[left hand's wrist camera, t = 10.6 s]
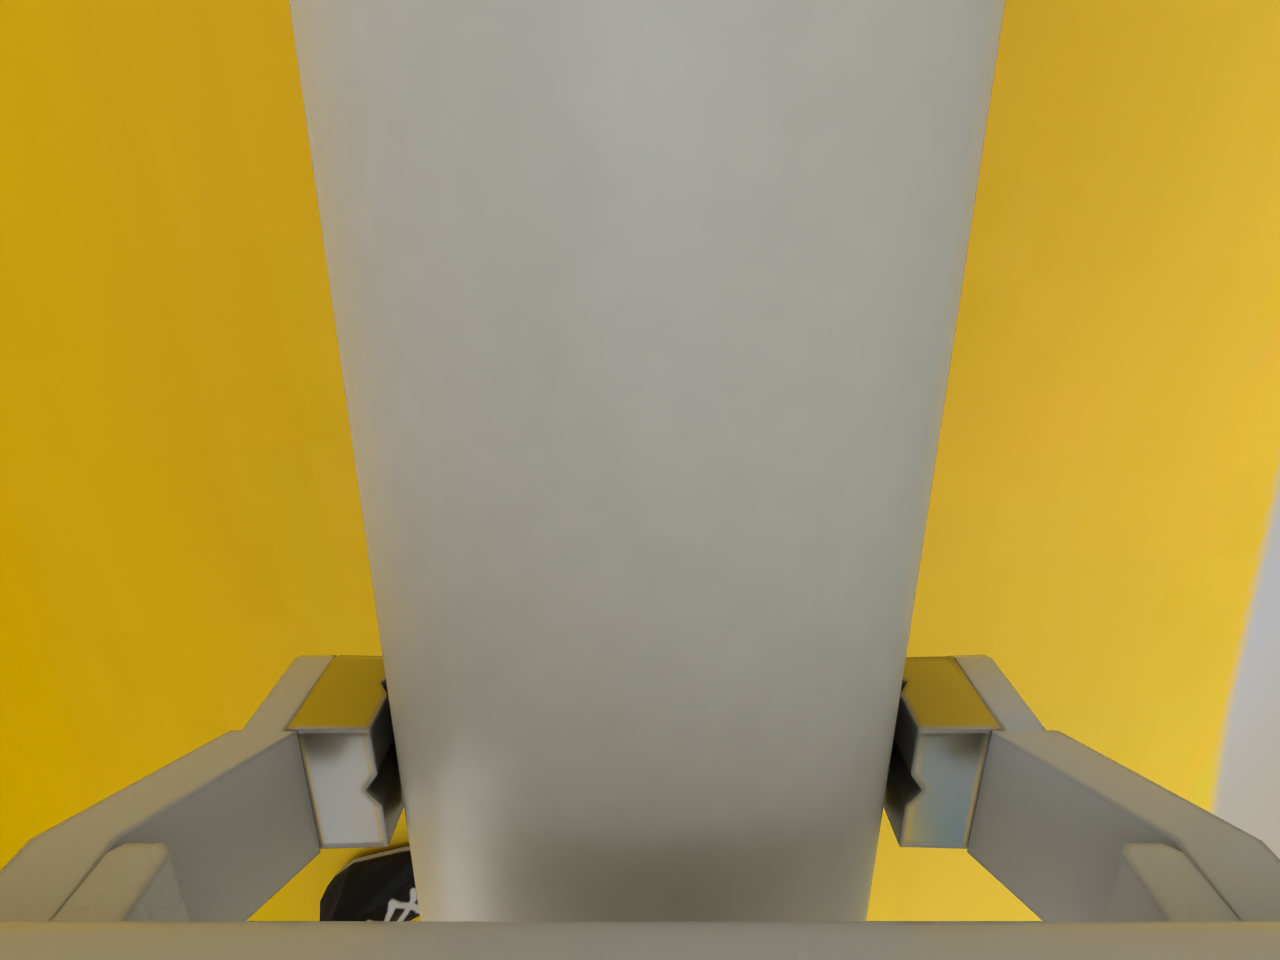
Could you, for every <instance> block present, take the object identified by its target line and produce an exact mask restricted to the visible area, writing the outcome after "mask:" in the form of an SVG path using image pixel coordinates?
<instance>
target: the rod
mask: <svg viewBox="0 0 1280 960" xmlns="http://www.w3.org/2000/svg"><path fill="white" fill-rule="evenodd" d="M289 4H290V11H291V18H292V25H293V32H294V39H295V46H296V53H297V60H298V67H299V74H300V81H301V88H302V95H303V102H304V109H305V116H306V123H307V130H308V137H309V144H310V151H311V158H312V165H313V172H314V179H315V186H316V193H317V200H318V207H319V214H320V221H321V228H322V235H323V242H324V249H325V256H326V263H327V270H328V277H329V284H330V291H331V298H332V305H333V312H334V319H335V326H336V333H337V340H338V347H339V354H340V361H341V368H342V375H343V382H344V389H345V396H346V403H347V410H348V417H349V424H350V431H351V438H352V445H353V452H354V459H355V466H356V473H357V480H358V487H359V494H360V501H361V508H362V515H363V522H364V529H365V536H366V543H367V550H368V557H369V564H370V571H371V578H372V585H373V592H374V599H375V606H376V613H377V620H378V627H379V634H380V641H381V648H382V655H383V662H384V669H385V676H386V683H387V690H388V697H389V704H390V711H391V718H392V725H393V732H394V739H395V746H396V753H397V760H398V767H399V774H400V781H401V788H402V795H403V802H404V809H405V816H406V823H407V830H408V837H409V844H410V851H411V858H412V865H413V872H414V879H415V886H416V893H417V900H418V907H419V914H420V921H866V917H867V910H868V904H869V897H870V891H871V884H872V877H873V871H874V864H875V858H876V851H877V844H878V838H879V831H880V825H881V818H882V811H883V805H884V798H885V792H886V785H887V778H888V772H889V765H890V759H891V752H892V745H893V739H894V732H895V726H896V719H897V712H898V706H899V699H900V693H901V686H902V679H903V673H904V666H905V660H906V653H907V646H908V640H909V633H910V626H911V620H912V613H913V607H914V600H915V593H916V587H917V580H918V574H919V567H920V560H921V554H922V547H923V541H924V534H925V527H926V521H927V514H928V508H929V501H930V494H931V488H932V481H933V475H934V468H935V461H936V455H937V448H938V442H939V435H940V428H941V422H942V415H943V409H944V402H945V395H946V389H947V382H948V376H949V369H950V362H951V356H952V349H953V343H954V336H955V329H956V323H957V316H958V310H959V303H960V296H961V290H962V283H963V277H964V270H965V263H966V257H967V250H968V244H969V237H970V230H971V224H972V217H973V211H974V204H975V197H976V191H977V184H978V177H979V171H980V164H981V158H982V151H983V144H984V138H985V131H986V125H987V118H988V111H989V105H990V98H991V92H992V85H993V78H994V72H995V65H996V59H997V52H998V45H999V39H1000V32H1001V26H1002V19H1003V12H1004V6H1005V0H289Z"/></svg>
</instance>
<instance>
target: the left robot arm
mask: <svg viewBox="0 0 1280 960" xmlns="http://www.w3.org/2000/svg"><path fill="white" fill-rule="evenodd" d="M403 807H404V805H403V797H402V788H401V781H400V774H399V767H398V760H397V753H396V746H395V739H394V732H393V725H392V718H391V711H390V704H389V697H388V690H387V683H386V676H385V669H384V662H383V656H353V655H339V656H336V655H303V656H300V657H297V658H295V659H294V660H293V662H292V663H291V665H290V666H289V667H288V669H287V670H286V671H285V673H284V674H283V675H282V677H281V678H280V679H279V681H278V682H277V683H276V685H275V686H274V688H273V689H272V690H271V692H270V693H269V694H268V696H267V697H266V698H265V700H264V701H263V702H262V704H261V705H260V706H259V708H258V709H257V711H256V712H255V713H254V715H253V716H252V717H251V719H250V720H249V721H248V723H247V724H246V725H245V727H244V728H243V729H242V731H229V732H227V733H225V734H223V735H221V736H219V737H218V738H216V739H214V740H212V741H210V742H208V743H207V744H205V745H203V746H201V747H199V748H197V749H196V750H194V751H192V752H190V753H188V754H186V755H185V756H183V757H181V758H179V759H177V760H175V761H174V762H172V763H170V764H168V765H166V766H164V767H163V768H161V769H159V770H157V771H155V772H153V773H152V774H150V775H148V776H146V777H144V778H142V779H140V780H139V781H137V782H135V783H133V784H131V785H129V786H128V787H126V788H124V789H122V790H120V791H118V792H117V793H115V794H113V795H111V796H109V797H107V798H106V799H104V800H102V801H100V802H98V803H96V804H95V805H93V806H91V807H89V808H87V809H85V810H84V811H82V812H80V813H78V814H76V815H74V816H73V817H71V818H69V819H67V820H65V821H63V822H61V823H60V824H58V825H56V826H54V827H52V828H50V829H49V830H47V831H45V832H43V833H41V834H39V835H38V836H36V837H34V838H32V839H30V840H29V841H28V842H27V843H26V844H25V845H24V846H23V847H22V849H21V850H20V851H19V852H18V853H17V854H16V855H15V856H14V857H13V858H12V859H11V860H10V861H9V862H8V863H7V864H6V866H5V867H4V868H3V869H2V870H1V871H0V960H1280V859H1279V858H1278V857H1277V856H1276V855H1275V854H1274V853H1273V852H1272V851H1271V850H1270V849H1269V848H1268V847H1267V846H1266V845H1265V844H1264V842H1263V841H1261V840H1259V839H1257V838H1256V837H1254V836H1252V835H1250V834H1248V833H1246V832H1244V831H1243V830H1241V829H1239V828H1237V827H1235V826H1233V825H1231V824H1230V823H1228V822H1226V821H1224V820H1222V819H1220V818H1219V817H1217V816H1215V815H1213V814H1211V813H1209V812H1208V811H1206V810H1204V809H1202V808H1200V807H1198V806H1196V805H1195V804H1193V803H1191V802H1189V801H1187V800H1185V799H1183V798H1182V797H1180V796H1178V795H1176V794H1174V793H1172V792H1171V791H1169V790H1167V789H1165V788H1163V787H1161V786H1159V785H1158V784H1156V783H1154V782H1152V781H1150V780H1148V779H1147V778H1145V777H1143V776H1141V775H1139V774H1137V773H1135V772H1134V771H1132V770H1130V769H1128V768H1126V767H1124V766H1122V765H1121V764H1119V763H1117V762H1115V761H1113V760H1111V759H1110V758H1108V757H1106V756H1104V755H1102V754H1100V753H1098V752H1097V751H1095V750H1093V749H1091V748H1089V747H1087V746H1086V745H1084V744H1082V743H1080V742H1078V741H1076V740H1074V739H1073V738H1071V737H1069V736H1067V735H1065V734H1063V733H1061V732H1060V731H1046V729H1045V728H1044V727H1043V725H1042V724H1041V723H1040V721H1039V720H1038V719H1037V717H1036V716H1035V715H1034V713H1033V712H1032V711H1031V709H1030V708H1029V707H1028V706H1027V704H1026V703H1025V702H1024V700H1023V699H1022V698H1021V696H1020V695H1019V694H1018V692H1017V691H1016V690H1015V688H1014V687H1013V686H1012V684H1011V683H1010V682H1009V680H1008V679H1007V678H1006V677H1005V675H1004V674H1003V673H1002V671H1001V670H1000V669H999V667H998V666H997V665H996V663H995V662H994V661H993V659H992V658H990V657H988V656H986V655H957V656H946V657H906V660H905V666H904V673H903V679H902V686H901V693H900V699H899V706H898V712H897V719H896V726H895V732H894V739H893V745H892V752H891V759H890V765H889V772H888V778H887V785H886V792H885V799H884V809H885V811H886V814H887V816H888V819H889V821H890V824H891V826H892V829H893V831H894V834H895V836H896V838H897V841H898V843H899V846H900V847H927V848H963V849H968V850H967V852H968V853H969V854H970V855H971V856H972V857H973V858H975V859H976V860H977V861H978V862H979V863H980V864H981V865H982V866H983V867H984V868H985V869H987V870H988V871H989V872H990V873H991V874H992V875H993V876H994V877H995V878H996V879H998V880H999V881H1000V882H1001V883H1002V884H1003V885H1004V886H1005V887H1006V888H1007V889H1009V890H1010V891H1011V892H1012V893H1013V894H1014V895H1015V896H1016V897H1017V898H1018V899H1020V900H1021V901H1022V902H1023V903H1024V904H1025V905H1026V906H1027V907H1028V908H1029V909H1031V910H1032V911H1033V912H1034V913H1035V914H1036V915H1037V916H1038V917H1039V918H1040V919H1041V920H1043V921H246V920H247V919H248V918H249V917H250V916H252V915H253V914H254V913H255V912H256V911H257V910H258V909H259V908H260V907H261V906H262V905H264V904H265V903H266V902H267V901H268V900H269V899H270V898H271V897H272V896H273V895H274V894H275V893H277V892H278V891H279V890H280V889H281V888H282V887H283V886H284V885H285V884H286V883H287V882H289V881H290V880H291V879H292V878H293V877H294V876H295V875H296V874H297V873H298V872H299V871H301V870H302V869H303V868H304V867H305V866H306V865H307V864H308V863H309V862H310V861H311V860H313V859H314V858H315V857H316V856H317V855H318V854H319V853H320V849H325V848H359V847H388V845H389V843H390V840H391V838H392V835H393V832H394V830H395V827H396V825H397V822H398V820H399V817H400V814H401V812H402V809H403Z"/></svg>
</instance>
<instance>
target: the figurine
mask: <svg viewBox="0 0 1280 960" xmlns="http://www.w3.org/2000/svg"><path fill="white" fill-rule="evenodd" d="M417 916H420V914H419V907H418V900H417V893H416V886H415V879H414V872H413V865H412V858H411V851H410V846H405V847H401V848H397V849H393V850H388V851H384V852H380V853H376V854H371V855H367V856H363V857H358V858H355V859H353V860H352V861H351V862H350V863H349V864H347V865H346V866H345V867H344V868H342V869H341V870H340V871H339V872H338V873H337V874H336V876H335V877H334V878H333V880H332V881H331V882H330V884H329V885H328V886H327V889H326V891H325V893H324V895H323V897H322V899H321V901H320V921H410V920H412V919H414V918H416V917H417Z"/></svg>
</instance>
